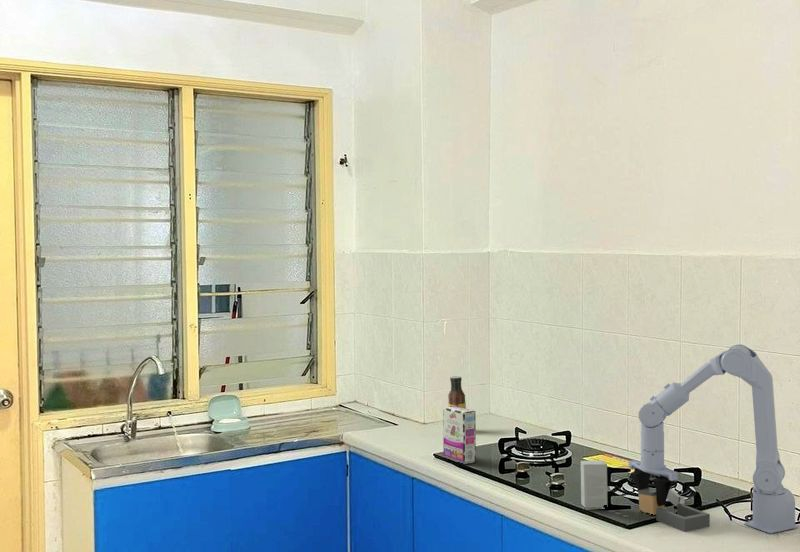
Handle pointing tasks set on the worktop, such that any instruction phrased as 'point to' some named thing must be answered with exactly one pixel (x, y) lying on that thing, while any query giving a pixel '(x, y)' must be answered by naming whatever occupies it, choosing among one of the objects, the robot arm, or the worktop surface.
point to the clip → (675, 497)
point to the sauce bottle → (456, 393)
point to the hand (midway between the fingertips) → (652, 502)
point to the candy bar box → (459, 433)
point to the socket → (684, 518)
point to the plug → (648, 500)
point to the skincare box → (593, 483)
